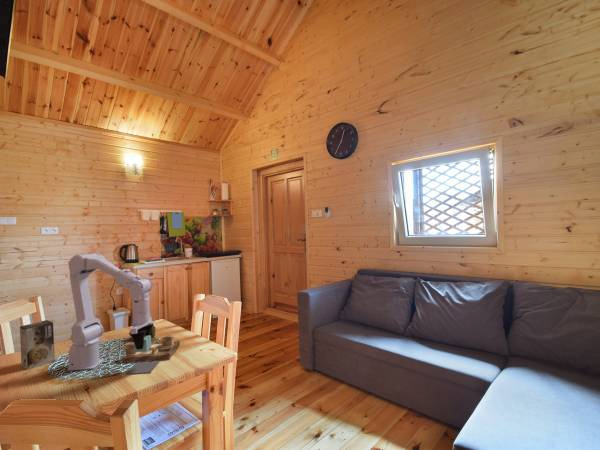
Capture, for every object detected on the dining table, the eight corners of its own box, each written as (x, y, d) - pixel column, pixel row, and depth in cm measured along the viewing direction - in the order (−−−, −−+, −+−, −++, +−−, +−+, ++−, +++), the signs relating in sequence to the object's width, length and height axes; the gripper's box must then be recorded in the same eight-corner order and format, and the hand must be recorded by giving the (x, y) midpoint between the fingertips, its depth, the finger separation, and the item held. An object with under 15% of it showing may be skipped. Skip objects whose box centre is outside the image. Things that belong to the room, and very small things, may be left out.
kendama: (124, 351, 135) (137, 334, 155) (147, 349, 137) (157, 332, 157) (124, 338, 135) (137, 322, 155) (147, 336, 137) (157, 321, 157)
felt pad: (125, 374, 112) (124, 373, 112) (135, 363, 121) (135, 362, 121) (150, 373, 113) (150, 372, 113) (159, 362, 122) (159, 361, 122)
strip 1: (124, 357, 124) (124, 345, 124) (129, 353, 128) (128, 341, 128) (154, 355, 125) (154, 343, 125) (158, 351, 129) (157, 340, 129)
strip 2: (144, 350, 131) (144, 338, 131) (148, 346, 135) (148, 335, 135) (171, 348, 132) (171, 337, 132) (174, 345, 136) (174, 334, 136)
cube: (134, 352, 114) (133, 340, 114) (139, 347, 119) (138, 336, 119) (146, 351, 115) (146, 339, 115) (151, 346, 119) (150, 335, 119)
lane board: (121, 362, 122) (121, 356, 122) (136, 348, 136) (136, 342, 136) (169, 359, 124) (169, 353, 124) (179, 345, 138) (179, 340, 138)
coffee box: (48, 357, 129) (47, 319, 129) (55, 360, 126) (54, 321, 126) (20, 366, 121) (19, 326, 121) (26, 370, 118) (25, 328, 118)
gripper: (144, 315, 110) (145, 353, 110) (159, 305, 124) (160, 338, 125) (123, 316, 109) (125, 354, 109) (141, 306, 124) (141, 339, 124)
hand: (142, 346), depth 117 cm, fingers closed on cube, 4 cm apart
